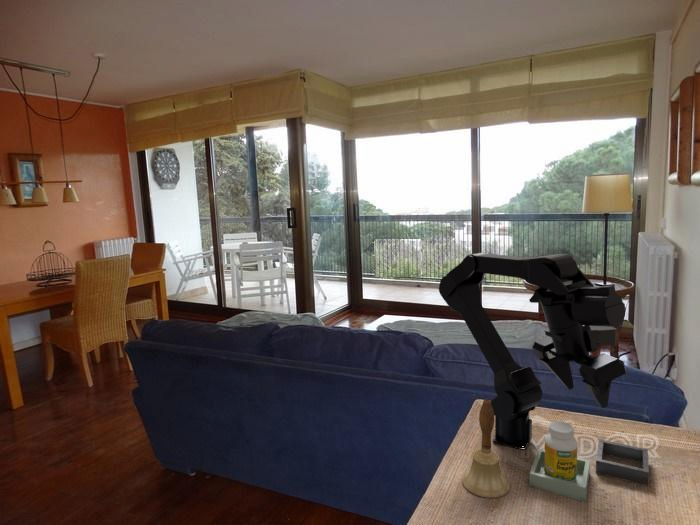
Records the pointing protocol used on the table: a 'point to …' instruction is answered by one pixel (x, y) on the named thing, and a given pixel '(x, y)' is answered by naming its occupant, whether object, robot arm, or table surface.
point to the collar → (620, 469)
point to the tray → (559, 485)
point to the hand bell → (486, 462)
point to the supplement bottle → (561, 452)
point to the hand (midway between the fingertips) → (587, 397)
